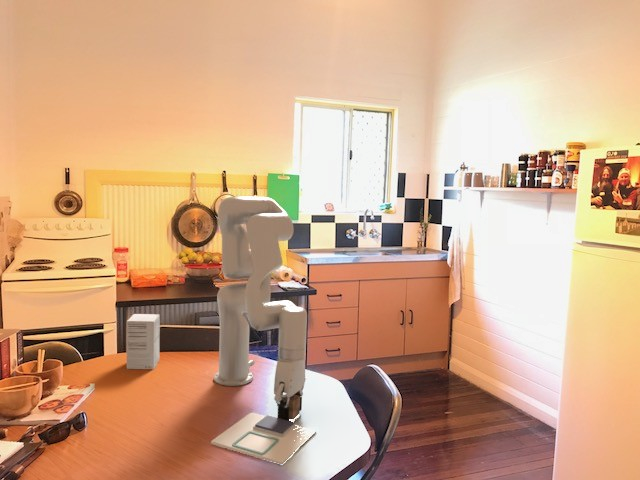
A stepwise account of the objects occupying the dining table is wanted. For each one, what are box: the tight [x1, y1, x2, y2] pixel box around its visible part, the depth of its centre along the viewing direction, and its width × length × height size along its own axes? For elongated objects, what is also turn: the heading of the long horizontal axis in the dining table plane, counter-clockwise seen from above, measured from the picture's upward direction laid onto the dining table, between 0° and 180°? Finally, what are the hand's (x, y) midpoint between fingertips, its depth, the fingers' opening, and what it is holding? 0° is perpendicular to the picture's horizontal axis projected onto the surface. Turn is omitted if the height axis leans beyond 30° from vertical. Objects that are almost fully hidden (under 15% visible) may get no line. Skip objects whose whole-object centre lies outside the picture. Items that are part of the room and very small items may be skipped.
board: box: [210, 411, 309, 464], centre depth 127 cm, size 18×20×2 cm
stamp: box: [282, 393, 301, 419], centre depth 139 cm, size 4×4×6 cm
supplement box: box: [125, 313, 161, 370], centre depth 173 cm, size 10×9×17 cm
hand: (289, 414), depth 139 cm, fingers open, 6 cm apart
